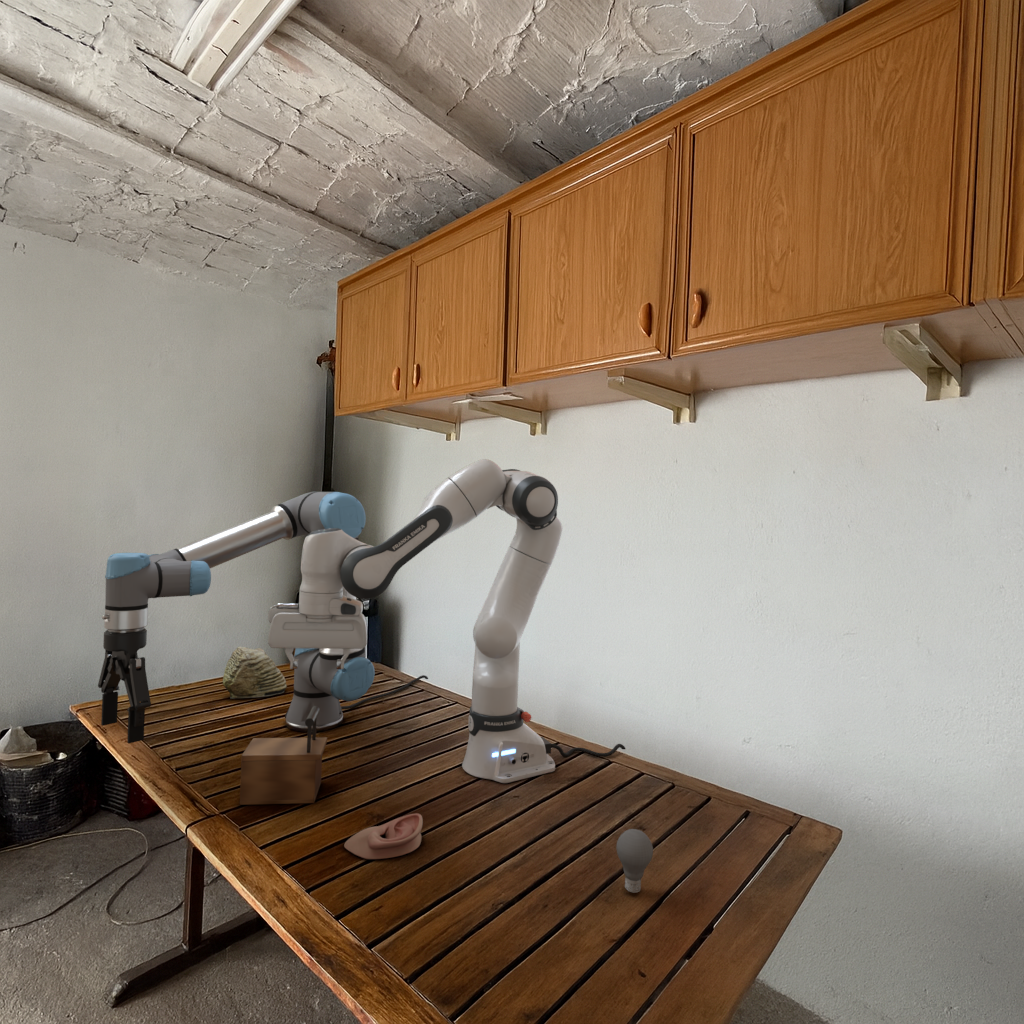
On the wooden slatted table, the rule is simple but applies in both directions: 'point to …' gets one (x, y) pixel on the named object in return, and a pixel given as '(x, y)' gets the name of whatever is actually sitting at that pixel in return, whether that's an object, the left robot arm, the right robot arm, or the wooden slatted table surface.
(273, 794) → the chest
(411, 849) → the anatomical model
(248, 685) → the fossil
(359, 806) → the wooden slatted table surface
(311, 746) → the lid
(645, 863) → the light bulb
